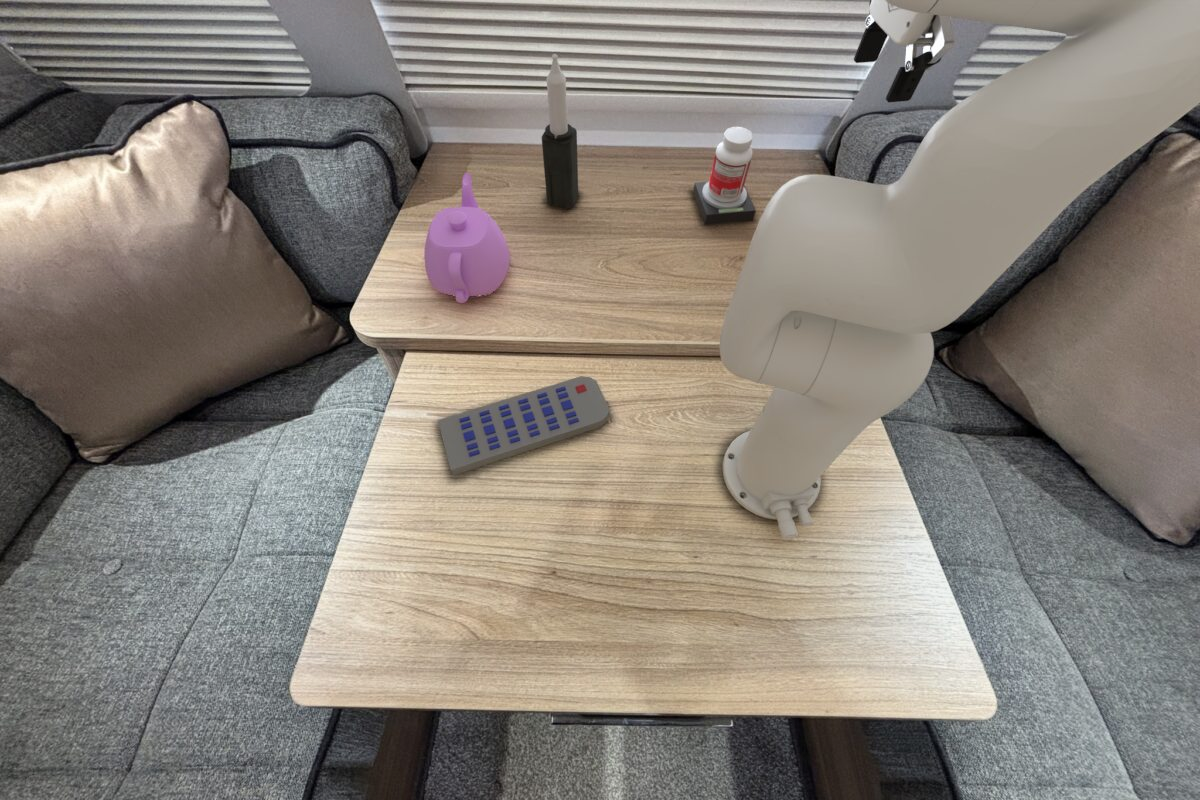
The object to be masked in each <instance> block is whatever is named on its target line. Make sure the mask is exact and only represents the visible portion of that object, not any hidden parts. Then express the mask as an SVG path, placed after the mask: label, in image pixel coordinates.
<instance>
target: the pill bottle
mask: <svg viewBox="0 0 1200 800" xmlns="http://www.w3.org/2000/svg"><path fill="white" fill-rule="evenodd" d="M753 138H754V136H753V133H752V132H751V130H749V129H747V128H746V127H743V126H731V127H728V128H727V129H725V131H724V133H723V137H722V141H721V142H720V143H718V145H717V146H716V149H715V152H714V158H713V161H712V167H711V172H710V176H709V181H708V182H709V186H708V192H709V194H710V196H711V197H712V198H714V199H715V200H717V201H720V202H733V201H735V200H737V199H738V198H739V197H740V196H741V194H742V192H743V188H744V185H745V184H746V180H747V176H748V173H749V170H750V166H751V162H752V159H753V149H752V146H751V145H752V142H753Z"/></svg>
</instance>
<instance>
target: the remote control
mask: <svg viewBox="0 0 1200 800" xmlns="http://www.w3.org/2000/svg"><path fill="white" fill-rule="evenodd" d="M610 413H611V410H610V407H609V405H608V403H607V401H606V399H605V397H604V394H603V391H602V390H601V387H600V385H599V383H598V381H597V380H596V379H594V378H592V377H590V376H583V375H580V376H577V377H574V378H570V379H568V380H567V379H566V380H564V381H561V382H558V383H555V384H551V385H548V386H544V387H541V388H538V389H534V390H532V391H528V392H525V393H522V394H518V395H515V396H512V397H509V398H506V399H505V398H504V399H502V400H499V401H495V402H493V403H489V404H486V405H482V406H479V407H476V408H473V409H469V410H466V411H463V412H459V413H456V414H453V415H450V416H446V417H444V418H440V419H437V422H438V427H439V431H440V435H441V439H442V442H443V446H444V450H445V455H446V457H447V462H448V466H449V469H450V472H451V474H452V475H453V476H457V475H459V474H462V473H465V472H469V471H471V470H474V469H478V468H481V467H484V466H486V465H489V464H492V463H495V462H499V461H501V460H505V459H508V458H511V457H514V456H517V455H519V454H523V453H526V452H529V451H532V450H535V449H538V448H542V447H545V446H548V445H550V444H553V443H556V442H559V441H562V440H566V439H568V438H572V437H575V436H578V435H581V434H584V433H587V432H591V431H593V430H596V429H599V428H601V427H603V425H604V424H606V423H607V422H608V419H609V417H610Z"/></svg>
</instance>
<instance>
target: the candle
mask: <svg viewBox="0 0 1200 800" xmlns="http://www.w3.org/2000/svg"><path fill="white" fill-rule="evenodd" d="M558 58H559V56H558V54H556V53H553V54H552V55H551V59H552V62H551V66H550V71H549V72H548V74H547V76H546V90H547V105H548V120H549V124H547V125H546V126H545V128H544V132H543V133H542V135H541V147H542V158H543V171H544V183H545V194H546V203H547V205H549V206H550V207H551V206H554V207H559V208H564V209H565V210H569V209H572V208H573V207H574V206H575V204H576V202H577V200H578V198H579V168H578V166H579V165H578V132H577V129H576V127H572V125H571V124H569V122H568V102H567V101H568V99H567V98H568V97H567V79H566V75H565V74H564V73H563V72H562V69H561V66H560V63H559V60H558Z"/></svg>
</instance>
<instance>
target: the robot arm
mask: <svg viewBox="0 0 1200 800" xmlns="http://www.w3.org/2000/svg"><path fill="white" fill-rule="evenodd" d="M868 9H869V12H868V13H869V14H868V16H866V19H865V24H864V25H865V27H866V28H864V31H863V35H862V37H861V38H860V42H859V44H858V47H857V49H856V52H855V54H854V57H853V61H854V62H855V64H863V63H873V62H876V61H877V60H878V59H879V56H880V54H881V52H882V49H883V48H884V45H885V42H886V40H887V37H889V38H890V39H891V40H892V41H893V42H894V44H896V45H897V46H899V47H905V60H904V66H900V67H899V68H898V70H897V73H896V75H895V77H894V79H893V81H892V83H891V86H890V87H889V90H888V92H887V94H886V96H885V100H886V101H887V103H899V102H909V101H910V100H911V99H912V98H913V96H914V94H915V92H916V90H917V87H918V86H919V84H920V82H921V80H922V78H923V76H924V74H925V72H926V71H929V70H930V69H931V68H932V67H933V66H935V65H937V64H938V63H940V62H941V61H942V58H943V57H944V56H945V55H946V54H948V52H949V51H951V49H952V48H954V45H955V37H954V31H953V27H952V18H954V19H959V20H960V19H961V20H966V21H967V20H968V21H973V22H974V21H975V22H980V23H986V24H987V23H988V24H994V25H1001V26H1006V27H1015V28H1023V29H1029V30H1030V29H1031V30H1038V31H1044V32H1045V31H1046V32H1051V33H1057V34H1064V35H1065V37H1064V38H1063V40H1062V41H1061V42H1060V43H1059V44H1058V45H1056V46H1055V47H1053V48H1051V49H1050V50H1048V51H1046V52H1044V53H1042V54H1041V55H1039V56H1037V57H1034V58H1032V59H1030V60H1028V61H1026V62H1023V63H1022V64H1020V65H1018V66H1016V67H1014V68H1012V69H1011V70H1008V71H1006V72H1005V73H1003V74H1002V75H1000V76H998V77H996V78H995V79H993V80H992V81H990V82H989V83H987V84H985V85H984V86H982V87H981V88H979V89H978V90H976V91H975V92H973V93H972V94H970V95H969V96H967V97H966V98H964V99H963V100H961V101H960V102H959V103H957V104H956V105H954V106H953V107H952V108H950V109H949V110H947V112H945V113H944V114H943V115H942V116H941V117H940V118H939V119H938V120H937V121H936V122H935V123H933V125H932V126H931V128H930V129H929V130H928V132H927V133H926V135H925V136H924V137H923V139H922V141H921V142H920V144H919V146H918V148H917V149H916V151H915V153H914V154H913V157H912V158H911V160H910V162H909V163H908V165H907V167H906V168H905V170H904V172H903V174H902V175H901V176H900V177H899V179H898V180H896V181H895V182H892V183H890V184H888V183H887V184H878V183H873V182H867V181H863V180H857V179H852V178H846V177H840V176H834V175H828V174H819V173H817V174H816V173H813V174H804V175H799V176H795V177H794V178H792V179H790V180H788V181H786V182H785V183H784V184H783V185H781V186H780V187H779V188H778V189H777V191H776V192H775V193H774V194H773V195H772V197H771V198H770V200H769V202H768V203H767V205H766V206H765V208H764V210H763V212H762V214H761V216H760V218H759V220H758V224H757V226H756V228H755V231H754V233H753V235H752V238H751V241H750V244H749V246H748V249H747V252H746V255H745V258H744V260H743V264H742V267H741V270H740V273H739V276H738V278H737V281H736V284H735V286H734V290H733V292H732V296H731V299H730V301H729V304H728V307H727V310H726V313H725V316H724V320H723V322H722V326H721V330H720V336H719V345H718V346H719V348H718V350H719V351H718V352H719V358H720V360H721V362H722V365H723V366H724V367H725V369H726V370H727V371H728V372H730V374H732V375H734V376H736V377H738V378H741V379H743V380H747V381H750V382H753V383H756V384H757V383H758V384H762V385H765V386H769V387H772V388H773V389H772V391H771V393H770V395H769V396H768V398H767V400H766V402H765V404H764V405H763V408H762V409H761V411H760V412H759V414H758V417H757V419H756V420H755V422H754V424H753V426H752V428H751V430H748V431H745V432H743V433H741V434H740V435H738V436H736V438H734V439H733V441H732V442H731V443H730V444H729V445H728V447H727V448H726V451H725V453H724V456H723V460H722V477H723V480H724V483H725V486H726V488H727V490H728V492H729V493H730V495H731V496H732V497H733V498H734V500H735V501H736V502H737V503H738V504H739V505H740V506H742V508H744V509H745V510H747V511H749V512H750V513H752V514H754V515H756V516H758V517H762V518H764V519H770V520H777V526H778V529H779V532H780V535H781V538H782V540H785V541H786V540H793V539H795V538H797V537H799V535H800V534H799V532H798V528H797V525H796V523H795V520H793V518H795V517H798V520H799V522H800V526H801V527H808V526H812V525H813V524H814V522H813V519H812V516H811V513H810V512H809V508H810V507H812V506H813V504H814V503H815V501H816V500H817V498H818V496H819V494H820V491H821V486H822V476H823V474H824V473H825V472H826V471H827V470H828V468H829V467H831V465H832V464H833V463H834V462H835V461H836V459H838V457H839V456H840V455H841V454H842V453H843V452H844V451H845V450H846V449H847V448H848V447H849V446H850V445H851V444H852V443H853V442H854V441H855V440H856V438H857V437H858V436H859V435H860V434H861V433H862V432H863V431H864V430H865V429H866V428H867V427H869V426H870V425H871V424H873V423H874V422H875V421H878V420H879V419H881V418H883V417H885V416H886V415H889V413H892V412H893V411H895V410H896V409H898V408H899V407H900V406H902V405H903V404H905V402H907V401H908V400H909V399H910V398H911V397H912V396H913V395H914V394H915V393H916V392H918V390H919V389H920V387H921V386H922V384H923V383H924V382H925V380H926V379H927V376H928V374H929V373H930V370H931V367H932V364H933V360H934V355H935V346H934V339H933V336H932V333H933V332H937V331H939V330H941V329H943V328H945V327H947V326H949V325H950V324H951V323H954V321H956V320H957V319H958V318H959V317H960V316H962V315H963V314H964V313H966V311H967V310H968V309H969V308H970V307H971V306H972V305H973V304H975V302H977V300H979V299H980V298H981V296H982V295H983V294H985V293H986V292H987V290H988V289H989V288H990V287H991V286H992V285H993V284H994V283H995V282H996V281H997V280H998V279H999V278H1000V277H1001V276H1002V275H1003V274H1004V273H1005V272H1006V271H1007V270H1008V269H1009V268H1010V267H1011V265H1012V264H1014V263H1015V261H1016V260H1017V259H1019V258H1020V256H1022V254H1023V253H1024V252H1025V251H1026V250H1027V249H1028V248H1029V247H1030V246H1031V245H1032V244H1033V243H1035V241H1036V240H1037V239H1038V238H1039V237H1040V236H1041V235H1042V234H1043V233H1044V231H1045V230H1047V228H1048V227H1049V226H1050V225H1051V224H1052V223H1053V222H1054V221H1055V220H1056V219H1057V218H1058V216H1059V215H1060V214H1061V213H1062V212H1063V211H1064V210H1065V209H1066V208H1067V207H1068V206H1069V205H1071V203H1072V202H1074V201H1075V200H1076V199H1077V198H1078V197H1080V195H1081V194H1082V193H1084V191H1085V190H1087V189H1088V188H1089V187H1090V186H1092V185H1093V184H1094V183H1095V182H1097V181H1098V180H1100V179H1101V178H1102V177H1103V176H1104V175H1105V174H1107V173H1108V172H1110V171H1111V170H1112V169H1113V168H1115V167H1116V166H1117V165H1118V164H1120V163H1121V162H1122V161H1124V160H1126V159H1127V158H1129V156H1130V155H1132V154H1134V153H1135V152H1136V151H1138V150H1139V149H1141V148H1142V147H1144V146H1145V145H1146V144H1147V143H1149V142H1150V141H1151V140H1153V139H1154V138H1156V137H1158V135H1161V133H1163V132H1164V131H1166V130H1167V129H1168V128H1169V127H1170V126H1172V125H1173V124H1175V123H1176V122H1177V121H1179V120H1180V119H1182V118H1183V117H1184V116H1185V115H1187V114H1188V113H1189V112H1190V111H1191V110H1193V109H1194V108H1195V107H1197V106H1198V105H1199V104H1200V0H869V7H868ZM919 47H922V48H923V49H922V53H921V54H920V55H917V51H918V48H919Z"/></svg>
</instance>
